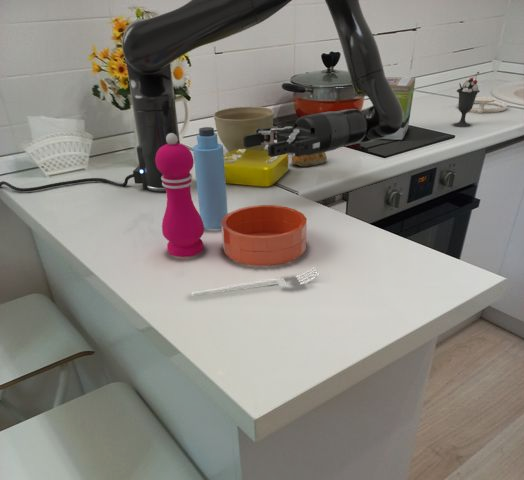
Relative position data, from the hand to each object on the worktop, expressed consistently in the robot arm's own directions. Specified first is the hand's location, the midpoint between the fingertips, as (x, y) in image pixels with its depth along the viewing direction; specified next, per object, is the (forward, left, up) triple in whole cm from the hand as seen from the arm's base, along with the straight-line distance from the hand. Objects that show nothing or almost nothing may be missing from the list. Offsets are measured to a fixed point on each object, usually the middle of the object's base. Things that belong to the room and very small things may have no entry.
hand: (256, 146), depth 96 cm
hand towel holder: (+70, +103, -14) cm, 125 cm away
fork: (+3, -32, -14) cm, 35 cm away
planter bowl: (-8, +44, -14) cm, 47 cm away
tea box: (+34, +67, -14) cm, 76 cm away
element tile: (-4, +25, -14) cm, 29 cm away
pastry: (+10, +36, -14) cm, 40 cm away
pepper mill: (-11, -19, -14) cm, 26 cm away
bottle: (-8, -7, -13) cm, 17 cm away
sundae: (+58, +78, -14) cm, 98 cm away
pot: (+3, -17, -13) cm, 22 cm away
